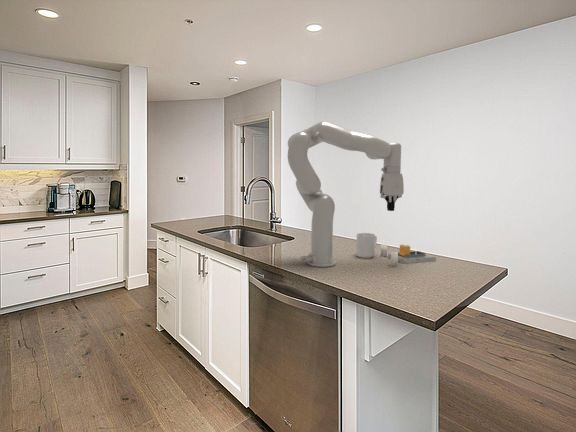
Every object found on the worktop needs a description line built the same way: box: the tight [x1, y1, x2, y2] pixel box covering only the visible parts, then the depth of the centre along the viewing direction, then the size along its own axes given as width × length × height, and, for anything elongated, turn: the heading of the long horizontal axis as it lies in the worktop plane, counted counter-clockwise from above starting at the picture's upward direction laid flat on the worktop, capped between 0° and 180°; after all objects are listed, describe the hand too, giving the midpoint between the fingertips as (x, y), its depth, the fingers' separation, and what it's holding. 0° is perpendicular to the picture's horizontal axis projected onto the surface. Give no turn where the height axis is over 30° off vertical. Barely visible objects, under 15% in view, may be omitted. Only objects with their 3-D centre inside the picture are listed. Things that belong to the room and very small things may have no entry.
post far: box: [380, 243, 388, 258], centre depth 182 cm, size 3×3×6 cm
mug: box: [355, 232, 378, 259], centre depth 181 cm, size 12×9×11 cm
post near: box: [390, 251, 399, 268], centre depth 163 cm, size 3×3×6 cm
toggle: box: [398, 243, 411, 256], centre depth 174 cm, size 3×4×5 cm
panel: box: [387, 250, 437, 265], centre depth 175 cm, size 18×12×3 cm, turn 108°
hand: (390, 210), depth 169 cm, fingers closed
